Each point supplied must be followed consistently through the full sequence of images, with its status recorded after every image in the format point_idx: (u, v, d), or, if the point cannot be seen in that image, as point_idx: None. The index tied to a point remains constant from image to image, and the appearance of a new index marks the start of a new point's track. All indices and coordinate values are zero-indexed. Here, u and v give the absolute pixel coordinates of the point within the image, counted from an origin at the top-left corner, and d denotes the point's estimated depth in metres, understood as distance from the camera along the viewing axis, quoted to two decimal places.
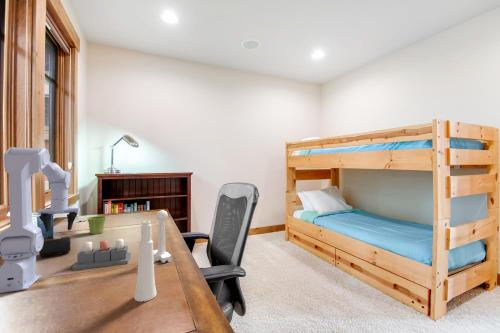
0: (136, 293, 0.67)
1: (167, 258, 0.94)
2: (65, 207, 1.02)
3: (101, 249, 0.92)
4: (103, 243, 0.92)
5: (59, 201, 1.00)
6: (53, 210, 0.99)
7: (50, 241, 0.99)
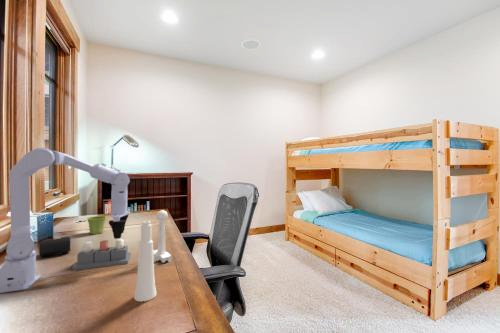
0: (136, 293, 0.67)
1: (167, 258, 0.94)
2: (115, 212, 0.93)
3: (101, 249, 0.92)
4: (103, 243, 0.92)
5: (111, 204, 0.94)
6: None
7: (50, 241, 0.99)
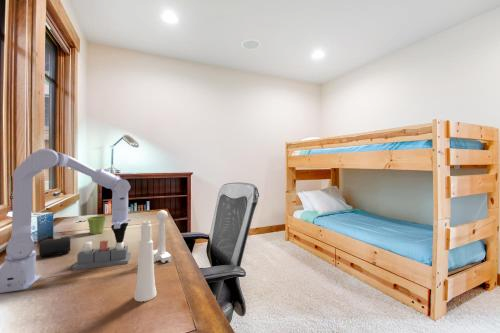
0: (136, 293, 0.67)
1: (167, 258, 0.94)
2: (115, 219, 0.93)
3: (101, 249, 0.92)
4: (103, 243, 0.92)
5: (112, 211, 0.94)
6: None
7: (50, 241, 0.99)
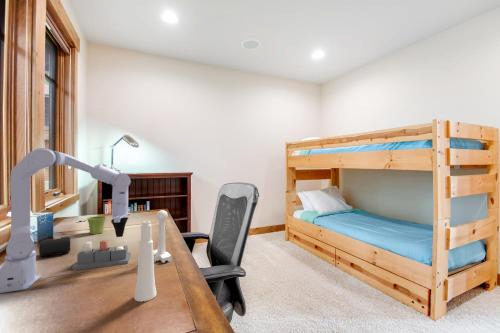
0: (136, 293, 0.67)
1: (167, 258, 0.94)
2: (115, 213, 0.93)
3: (101, 249, 0.92)
4: (103, 243, 0.92)
5: (112, 205, 0.94)
6: None
7: (50, 241, 0.99)
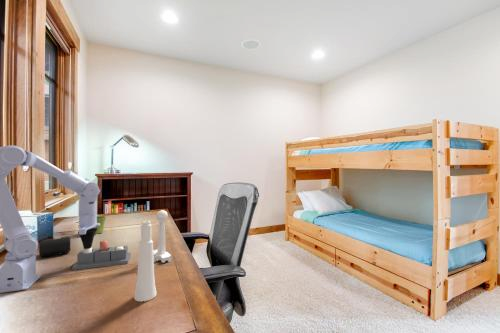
0: (136, 293, 0.67)
1: (167, 258, 0.94)
2: (82, 224, 0.89)
3: (101, 249, 0.92)
4: (103, 243, 0.92)
5: (79, 216, 0.90)
6: None
7: (50, 241, 0.99)
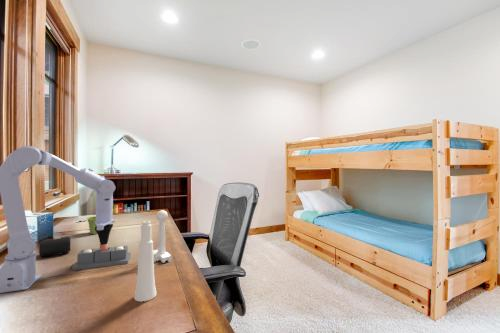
0: (136, 293, 0.67)
1: (167, 258, 0.94)
2: (99, 220, 0.91)
3: None
4: (103, 246, 0.92)
5: (96, 212, 0.92)
6: None
7: (50, 241, 0.99)
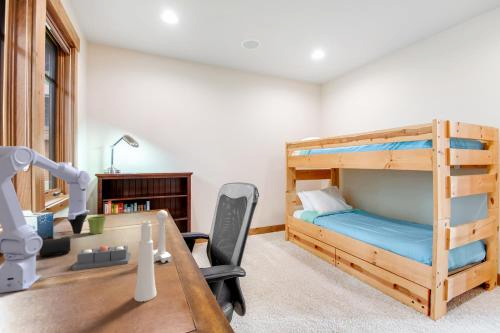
0: (136, 293, 0.67)
1: (167, 258, 0.94)
2: (72, 210, 0.94)
3: None
4: (103, 249, 0.92)
5: (69, 202, 0.95)
6: None
7: (50, 241, 0.99)
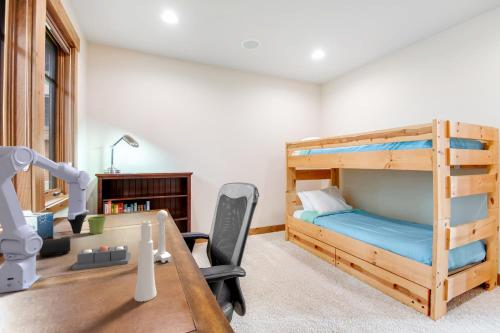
0: (136, 293, 0.67)
1: (167, 258, 0.94)
2: (71, 210, 0.94)
3: None
4: (103, 249, 0.92)
5: None
6: None
7: (50, 241, 0.99)
